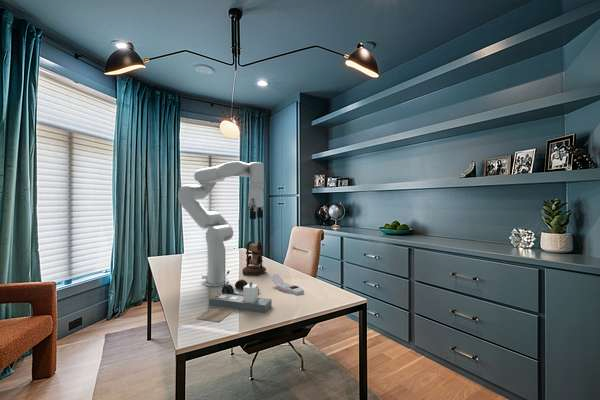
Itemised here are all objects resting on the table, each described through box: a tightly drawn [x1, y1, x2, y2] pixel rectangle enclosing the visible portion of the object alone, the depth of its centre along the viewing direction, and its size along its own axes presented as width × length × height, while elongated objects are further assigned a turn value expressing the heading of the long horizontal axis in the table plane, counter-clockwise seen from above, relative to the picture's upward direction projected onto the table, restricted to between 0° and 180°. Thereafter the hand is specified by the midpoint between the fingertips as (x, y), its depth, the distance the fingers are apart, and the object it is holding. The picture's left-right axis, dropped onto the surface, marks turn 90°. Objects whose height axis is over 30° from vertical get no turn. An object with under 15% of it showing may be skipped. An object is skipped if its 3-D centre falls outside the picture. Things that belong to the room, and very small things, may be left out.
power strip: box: [208, 292, 272, 314], centre depth 115 cm, size 26×7×4 cm, turn 74°
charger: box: [242, 281, 259, 303], centre depth 114 cm, size 5×5×11 cm
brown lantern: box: [241, 240, 267, 276], centre depth 170 cm, size 15×15×20 cm
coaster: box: [195, 307, 234, 323], centre depth 106 cm, size 10×10×1 cm
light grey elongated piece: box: [268, 273, 305, 296], centre depth 138 cm, size 6×6×25 cm
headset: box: [221, 270, 260, 296], centre depth 132 cm, size 14×10×20 cm
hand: (256, 218), depth 142 cm, fingers open, 9 cm apart
